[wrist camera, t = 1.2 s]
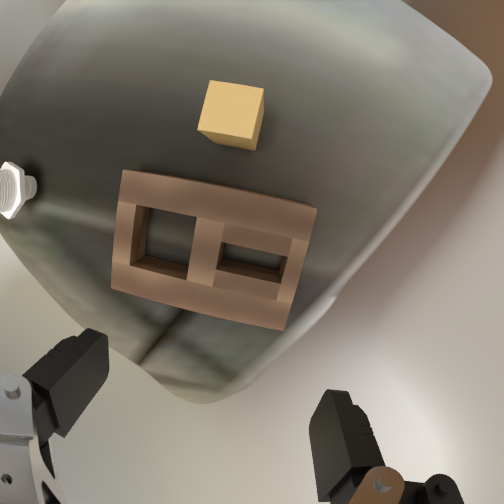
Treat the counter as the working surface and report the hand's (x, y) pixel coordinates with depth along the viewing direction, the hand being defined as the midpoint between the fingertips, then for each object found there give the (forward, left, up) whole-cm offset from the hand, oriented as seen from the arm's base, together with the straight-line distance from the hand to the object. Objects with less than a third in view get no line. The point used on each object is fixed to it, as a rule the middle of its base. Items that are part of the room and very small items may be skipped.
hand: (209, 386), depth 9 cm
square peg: (-12, -3, -21) cm, 24 cm away
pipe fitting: (-2, -30, -21) cm, 37 cm away
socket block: (0, -4, -21) cm, 21 cm away
